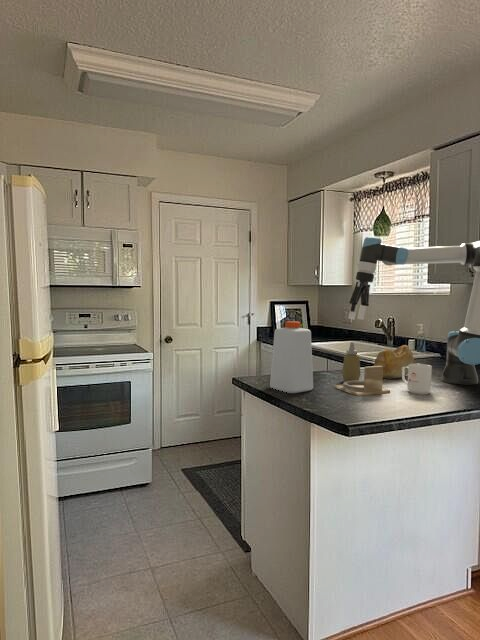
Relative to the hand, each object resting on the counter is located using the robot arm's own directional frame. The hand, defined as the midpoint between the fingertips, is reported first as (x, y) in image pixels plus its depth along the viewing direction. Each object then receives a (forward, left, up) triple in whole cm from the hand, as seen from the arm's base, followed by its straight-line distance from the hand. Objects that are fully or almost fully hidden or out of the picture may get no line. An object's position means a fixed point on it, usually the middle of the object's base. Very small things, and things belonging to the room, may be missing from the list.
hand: (355, 319), depth 201 cm
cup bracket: (-12, +13, -28) cm, 33 cm away
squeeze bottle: (0, +2, -28) cm, 29 cm away
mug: (-28, -2, -28) cm, 40 cm away
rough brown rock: (-4, -26, -29) cm, 39 cm away
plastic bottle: (+8, +34, -28) cm, 45 cm away
